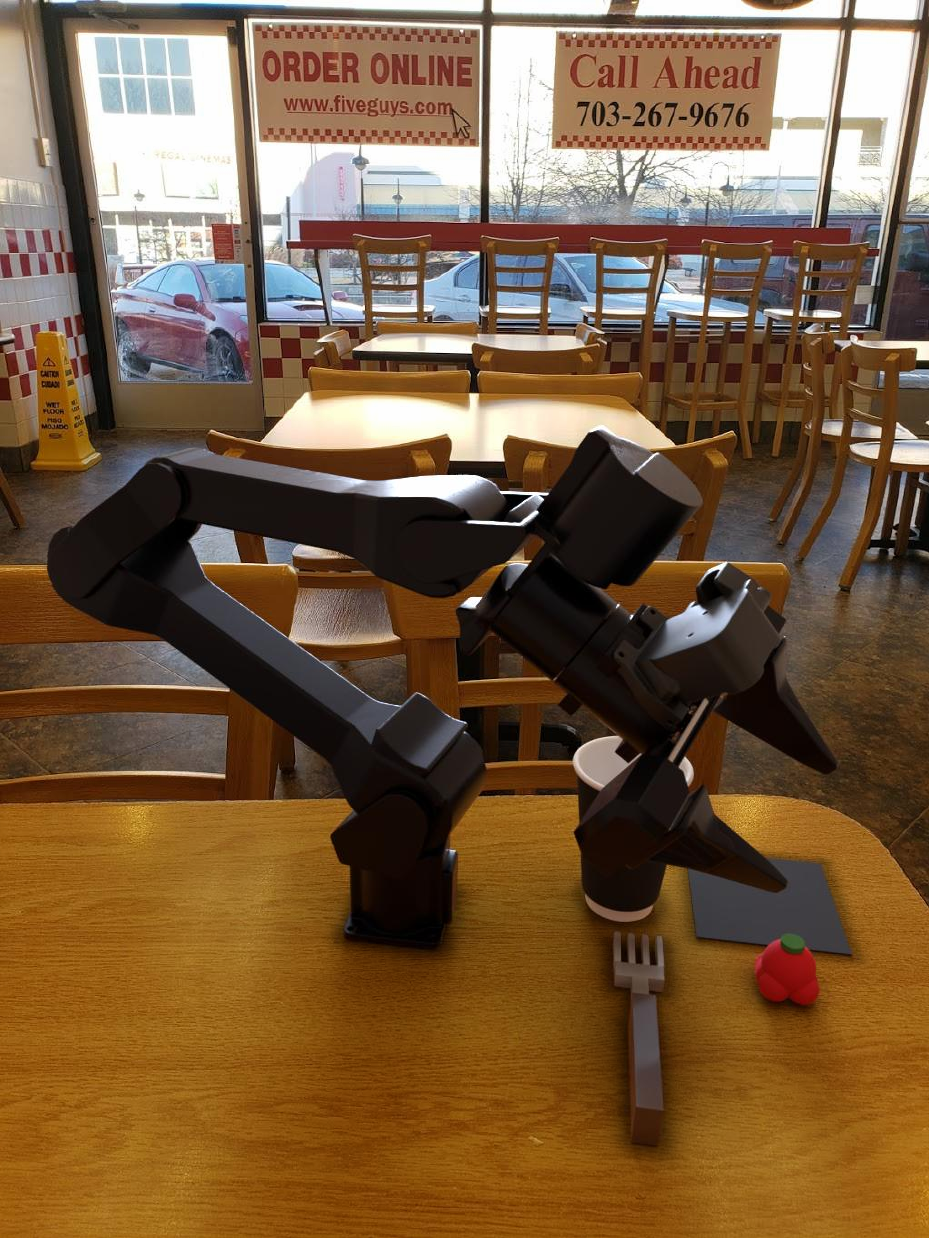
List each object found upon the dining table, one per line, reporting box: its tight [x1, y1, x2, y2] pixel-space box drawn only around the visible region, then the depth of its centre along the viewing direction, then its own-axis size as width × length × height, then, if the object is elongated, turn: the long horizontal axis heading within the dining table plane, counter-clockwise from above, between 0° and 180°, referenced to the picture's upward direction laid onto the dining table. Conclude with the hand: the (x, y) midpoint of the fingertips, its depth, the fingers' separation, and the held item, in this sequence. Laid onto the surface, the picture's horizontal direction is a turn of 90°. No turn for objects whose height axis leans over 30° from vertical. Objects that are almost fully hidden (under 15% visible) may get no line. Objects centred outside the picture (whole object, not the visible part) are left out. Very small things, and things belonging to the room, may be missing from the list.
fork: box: [612, 931, 666, 1147], centre depth 55 cm, size 15×3×2 cm, turn 172°
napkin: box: [687, 857, 853, 956], centre depth 67 cm, size 10×10×1 cm
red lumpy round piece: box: [754, 934, 820, 1006], centre depth 58 cm, size 4×3×4 cm
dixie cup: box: [572, 735, 695, 923], centre depth 64 cm, size 8×8×11 cm
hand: (809, 825), depth 51 cm, fingers open, 9 cm apart
